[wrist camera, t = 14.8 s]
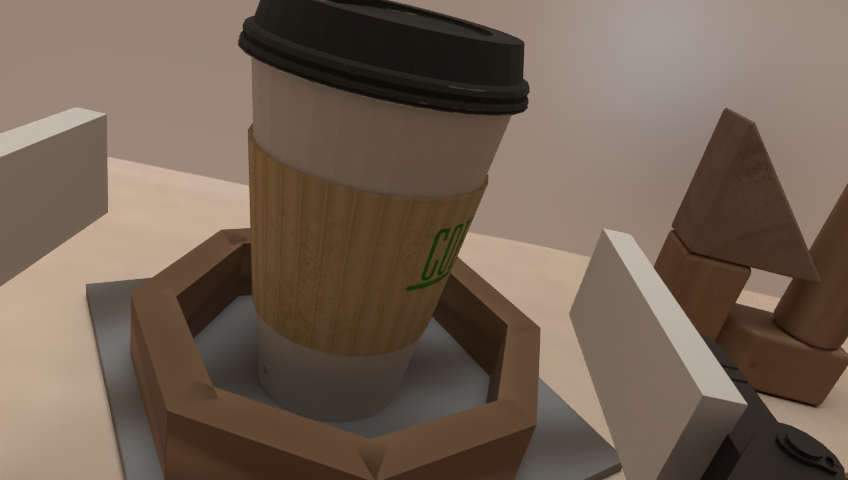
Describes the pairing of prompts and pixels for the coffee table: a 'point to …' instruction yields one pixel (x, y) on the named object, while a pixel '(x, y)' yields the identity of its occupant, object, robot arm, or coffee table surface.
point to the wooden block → (762, 249)
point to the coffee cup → (363, 185)
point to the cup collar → (314, 439)
